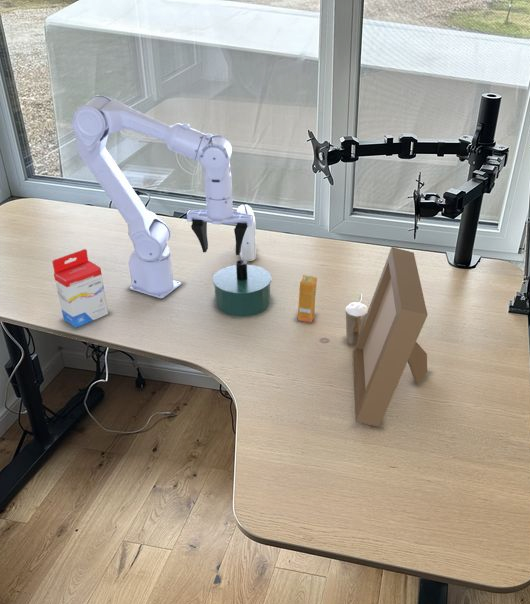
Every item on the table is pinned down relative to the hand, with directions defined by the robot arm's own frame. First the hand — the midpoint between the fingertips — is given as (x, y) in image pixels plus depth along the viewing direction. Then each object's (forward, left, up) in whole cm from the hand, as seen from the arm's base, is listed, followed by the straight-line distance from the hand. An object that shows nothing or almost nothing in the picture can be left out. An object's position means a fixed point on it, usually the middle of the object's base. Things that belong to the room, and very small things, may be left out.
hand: (221, 251), depth 150 cm
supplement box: (+23, -1, -11) cm, 25 cm away
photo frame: (+49, -16, -11) cm, 52 cm away
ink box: (-20, -24, -11) cm, 33 cm away
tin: (+7, -2, -10) cm, 12 cm away
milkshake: (+36, -4, -11) cm, 37 cm away
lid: (+7, -2, -4) cm, 8 cm away
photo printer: (-5, +20, -11) cm, 23 cm away
